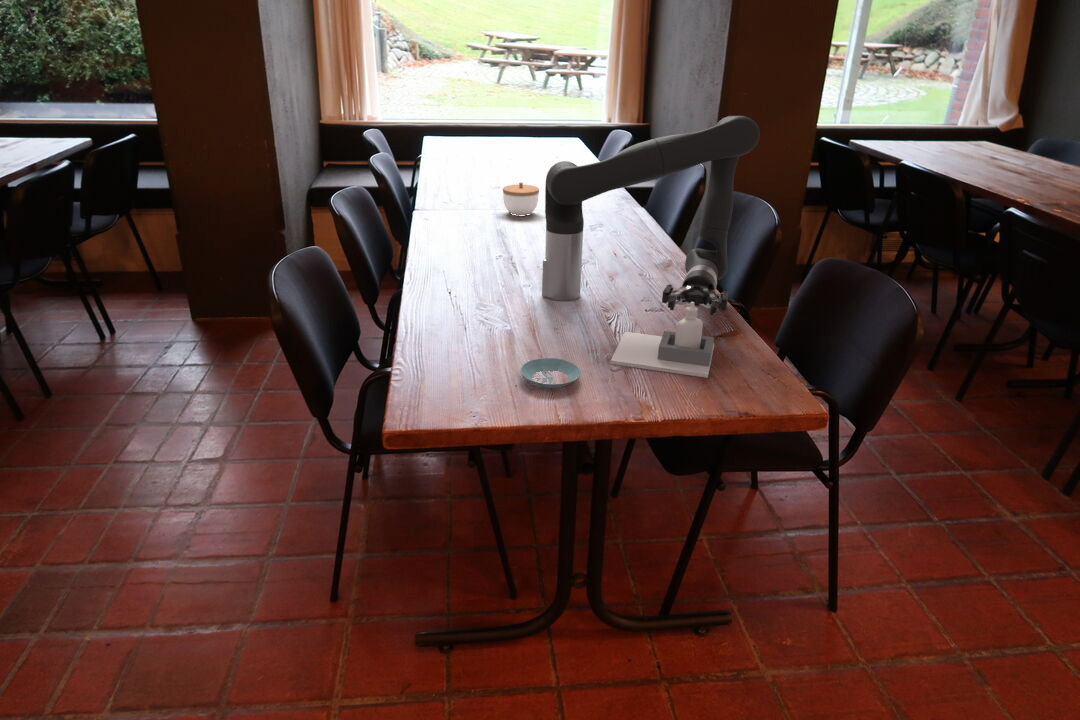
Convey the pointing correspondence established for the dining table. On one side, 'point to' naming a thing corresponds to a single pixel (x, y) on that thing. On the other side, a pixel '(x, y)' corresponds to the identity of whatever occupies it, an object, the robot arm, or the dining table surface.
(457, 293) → the dining table surface
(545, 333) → the dining table surface
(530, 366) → the saucer
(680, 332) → the eye dropper bottle
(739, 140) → the robot arm
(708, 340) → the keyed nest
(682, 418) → the dining table surface
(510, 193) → the lidded bowl
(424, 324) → the dining table surface
